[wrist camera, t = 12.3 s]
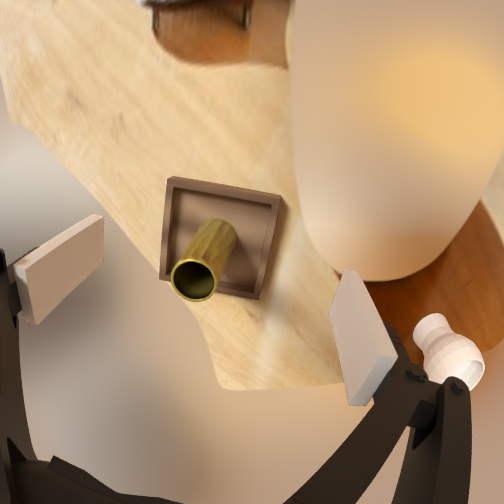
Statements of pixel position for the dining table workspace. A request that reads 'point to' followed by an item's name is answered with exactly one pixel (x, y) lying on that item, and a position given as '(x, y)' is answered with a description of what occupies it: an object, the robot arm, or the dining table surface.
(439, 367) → the cup
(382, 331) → the robot arm
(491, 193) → the dining table surface
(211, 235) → the vase
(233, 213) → the walnut tray
